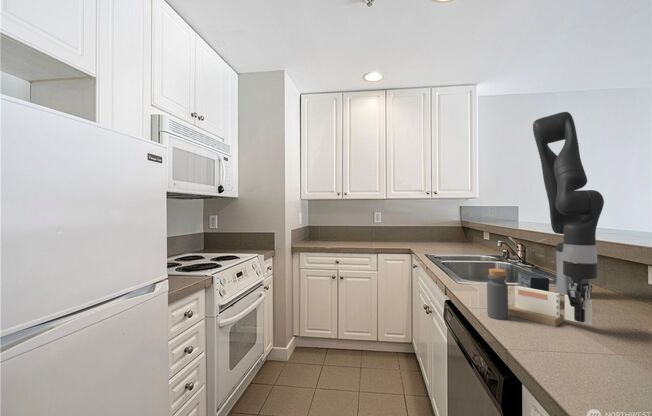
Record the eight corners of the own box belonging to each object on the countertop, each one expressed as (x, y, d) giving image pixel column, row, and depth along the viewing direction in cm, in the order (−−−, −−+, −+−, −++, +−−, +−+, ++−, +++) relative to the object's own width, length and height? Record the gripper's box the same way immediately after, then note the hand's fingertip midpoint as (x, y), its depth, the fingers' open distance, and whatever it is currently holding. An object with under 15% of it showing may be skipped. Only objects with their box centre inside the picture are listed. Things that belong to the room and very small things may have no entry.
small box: (551, 308, 104) (550, 277, 104) (530, 306, 105) (529, 277, 105) (536, 299, 114) (535, 271, 114) (517, 298, 116) (516, 271, 116)
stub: (564, 319, 88) (564, 295, 88) (566, 318, 88) (565, 294, 89) (591, 325, 83) (590, 300, 83) (592, 324, 84) (592, 299, 84)
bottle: (508, 321, 92) (507, 272, 92) (486, 317, 95) (486, 270, 95) (508, 315, 97) (507, 269, 97) (488, 312, 100) (487, 267, 100)
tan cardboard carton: (504, 313, 99) (503, 286, 99) (513, 309, 103) (513, 283, 103) (555, 326, 87) (554, 295, 87) (563, 321, 91) (563, 291, 91)
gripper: (571, 256, 92) (572, 312, 92) (554, 260, 85) (555, 322, 84) (603, 259, 86) (604, 319, 86) (589, 264, 78) (590, 330, 78)
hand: (580, 320), depth 85 cm, fingers closed
